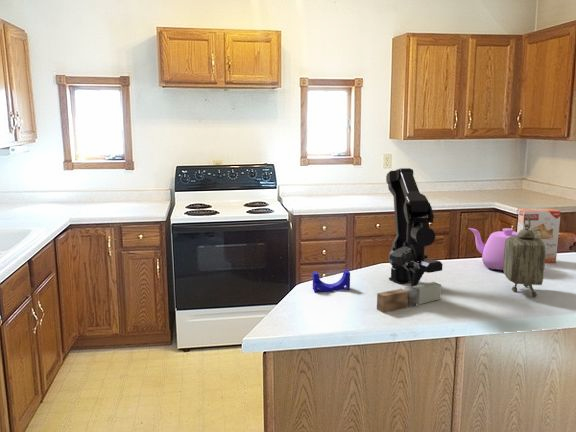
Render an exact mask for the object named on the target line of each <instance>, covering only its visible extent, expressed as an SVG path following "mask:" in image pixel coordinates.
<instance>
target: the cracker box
mask: <svg viewBox="0 0 576 432" xmlns="http://www.w3.org/2000/svg"><path fill="white" fill-rule="evenodd" d="M561 214H562V211H561V210H558V209H554V208H519V209H518V218H517V227H516V229H517V231H516V232H517V233H519V232H520V231H521V230H525V227H524V217H525V216H526V215H527V216H529V218H530V228H529V229H528V230H531V231H532V232H533V233H534V236H535V237H538V238H540V239H541V240H542V241H543V242H544V245H545V264H556V263H557V255H558V254H557V253H558V244H559V234H560V224H561ZM525 224H528V226H529V222H528V219H527V218H526V219H525Z"/></svg>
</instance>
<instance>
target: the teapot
mask: <svg viewBox="0 0 576 432" xmlns="http://www.w3.org/2000/svg"><path fill="white" fill-rule="evenodd" d="M468 230H470V231H471V232H472V233H473V235H474V238H475V245H476V246H475V247H476V249H477V251H478V252H479V253H480V254H481V255H482V256H481V260H482V262H483V264H484V267H486V268H489V269H490V268H491V269H490V270H498V271H499V270H500V271H504V250H505V240H506V239H507V238H509V237H511V236H517V235H518V233H517V231H514V229H513V228H507V227H506V228H502V230H501V231H493V232H492V233H490V234H489V236H488V239H487V240H486V243H484V242H483V240H482V237H481V233H480V232H479V230H478V229H475V228H472V227H468Z"/></svg>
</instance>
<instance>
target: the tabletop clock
mask: <svg viewBox="0 0 576 432" xmlns="http://www.w3.org/2000/svg"><path fill="white" fill-rule="evenodd" d="M526 218H527V219H528V222H529V226H528V224H525V219H526ZM524 227H525V230H521V231H520V232H519V233H518V235H517V236H511V237H509V238H507V239H506V240H505V250H504V270H503V274H504V276H505V278H506V279H507V280H508V281H510V282H511V283H513V284H514V285H513V286H512V287H511V290H512V291H513V292H517V290H518V287H517V286H518V285H523V287H525V288H528V287H529V289H530V291H531V297H533V298H537V296H538V294H537V292H535V291H534V288H533V286H542V285H543V281H544V274H545V265H546V263H545V245H544V242H543V241H542V240H541V239H540V238H538V237H535V236H534V233H533V232H532V231H531V230H528V229H529V228H530V218H529V216H527V215H526V216H525V217H524Z"/></svg>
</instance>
